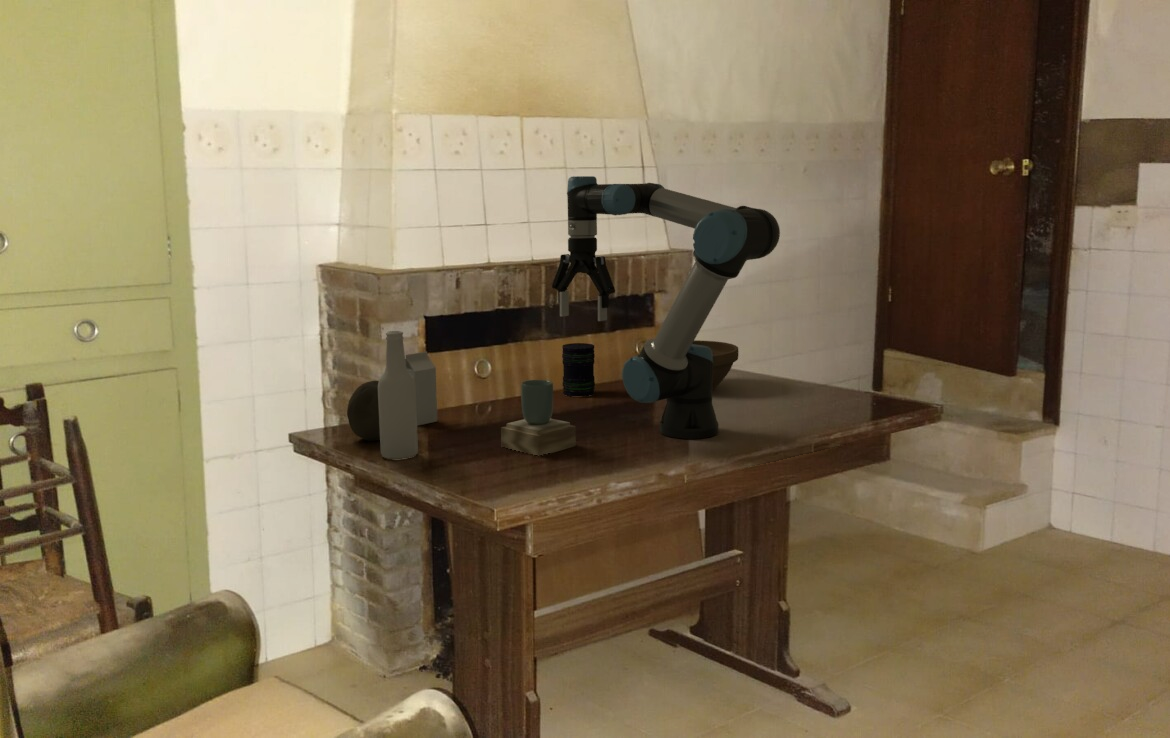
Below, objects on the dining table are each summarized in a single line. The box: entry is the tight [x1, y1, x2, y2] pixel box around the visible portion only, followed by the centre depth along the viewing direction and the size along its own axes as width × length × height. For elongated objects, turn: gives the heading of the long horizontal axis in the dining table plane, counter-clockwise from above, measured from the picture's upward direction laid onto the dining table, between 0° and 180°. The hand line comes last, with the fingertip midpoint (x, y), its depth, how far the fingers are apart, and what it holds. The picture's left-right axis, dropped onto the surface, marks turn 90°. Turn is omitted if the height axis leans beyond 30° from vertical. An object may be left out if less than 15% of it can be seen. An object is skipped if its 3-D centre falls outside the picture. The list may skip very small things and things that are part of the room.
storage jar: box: [561, 342, 596, 397], centre depth 319 cm, size 10×10×15 cm
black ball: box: [346, 380, 380, 442], centre depth 266 cm, size 14×14×15 cm
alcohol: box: [378, 330, 419, 459], centre depth 249 cm, size 9×9×30 cm
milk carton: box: [405, 351, 438, 427], centre depth 284 cm, size 7×7×19 cm
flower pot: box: [692, 339, 739, 391], centre depth 326 cm, size 28×28×13 cm
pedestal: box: [500, 417, 577, 457], centre depth 259 cm, size 13×13×6 cm
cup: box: [520, 379, 554, 424], centre depth 257 cm, size 8×8×10 cm
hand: (583, 318), depth 276 cm, fingers open, 13 cm apart
